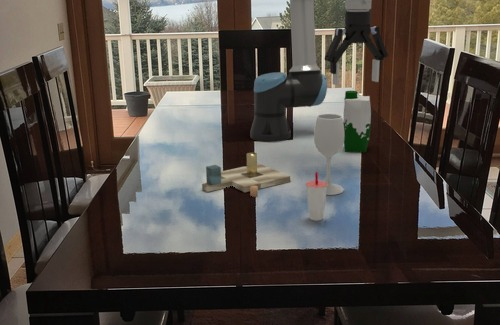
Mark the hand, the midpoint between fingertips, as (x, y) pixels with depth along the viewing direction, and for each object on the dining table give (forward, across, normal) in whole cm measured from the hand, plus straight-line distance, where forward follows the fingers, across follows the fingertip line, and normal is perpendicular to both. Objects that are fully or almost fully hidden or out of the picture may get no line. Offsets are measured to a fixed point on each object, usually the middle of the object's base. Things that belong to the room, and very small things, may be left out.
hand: (355, 83), depth 186 cm
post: (+26, -34, -1) cm, 43 cm away
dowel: (+26, -39, -13) cm, 48 cm away
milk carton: (+26, +10, +16) cm, 32 cm away
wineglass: (+26, -18, -18) cm, 36 cm away
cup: (+26, -31, -35) cm, 53 cm away
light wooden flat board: (+26, -38, -1) cm, 46 cm away
